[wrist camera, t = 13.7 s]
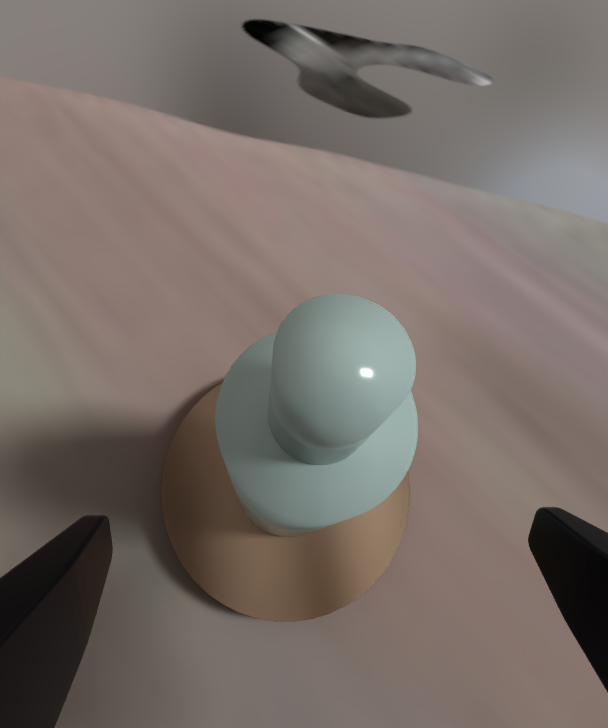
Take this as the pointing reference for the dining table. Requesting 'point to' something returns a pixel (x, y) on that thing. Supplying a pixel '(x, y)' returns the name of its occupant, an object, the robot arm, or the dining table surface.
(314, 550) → the tan flat disc
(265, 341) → the ceramic bottle
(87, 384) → the dining table surface
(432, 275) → the dining table surface
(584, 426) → the dining table surface
